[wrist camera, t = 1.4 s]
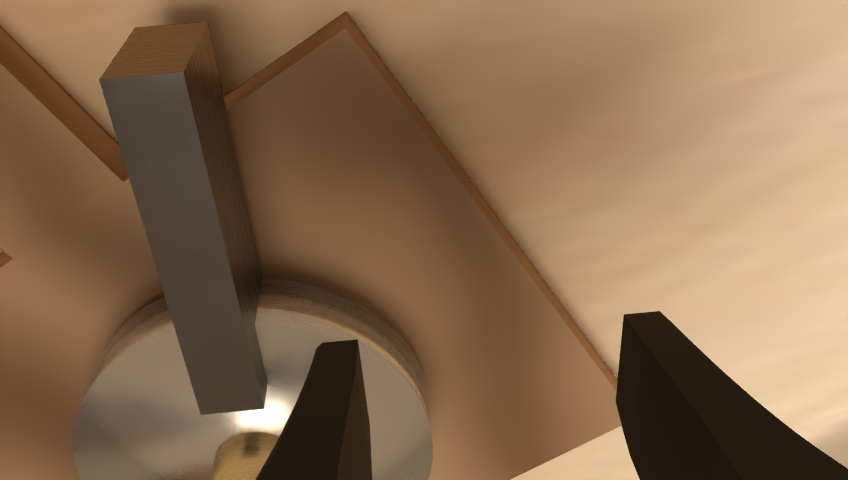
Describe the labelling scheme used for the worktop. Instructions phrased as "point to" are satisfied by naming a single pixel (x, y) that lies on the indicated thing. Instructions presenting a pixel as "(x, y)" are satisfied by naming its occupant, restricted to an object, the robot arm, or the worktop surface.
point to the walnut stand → (290, 258)
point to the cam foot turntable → (219, 302)
